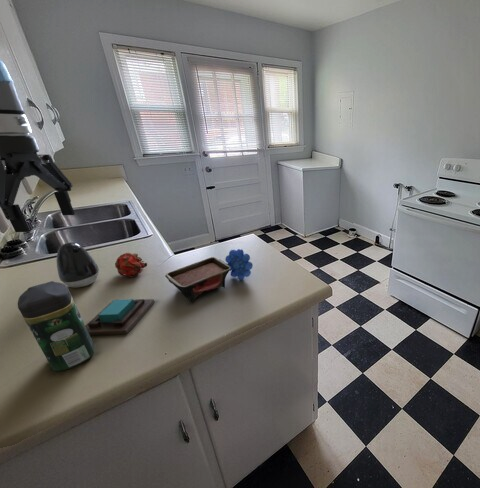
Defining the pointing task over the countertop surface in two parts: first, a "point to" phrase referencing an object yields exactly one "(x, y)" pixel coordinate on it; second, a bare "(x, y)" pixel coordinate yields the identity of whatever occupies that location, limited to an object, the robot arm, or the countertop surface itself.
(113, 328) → the back plate
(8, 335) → the countertop surface
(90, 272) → the black rounded piece
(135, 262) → the dragon fruit
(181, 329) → the countertop surface
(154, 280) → the countertop surface
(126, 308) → the pad
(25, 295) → the coffee jar
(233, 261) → the blue lumpy round piece
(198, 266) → the rectangular planter
